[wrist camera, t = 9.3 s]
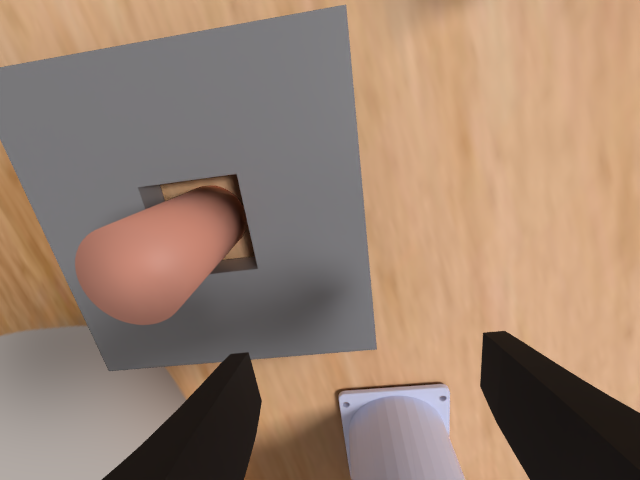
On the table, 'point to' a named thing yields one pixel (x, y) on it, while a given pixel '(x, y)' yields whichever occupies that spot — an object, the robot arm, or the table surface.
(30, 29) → the table surface
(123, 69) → the socket plate
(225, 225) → the peg
